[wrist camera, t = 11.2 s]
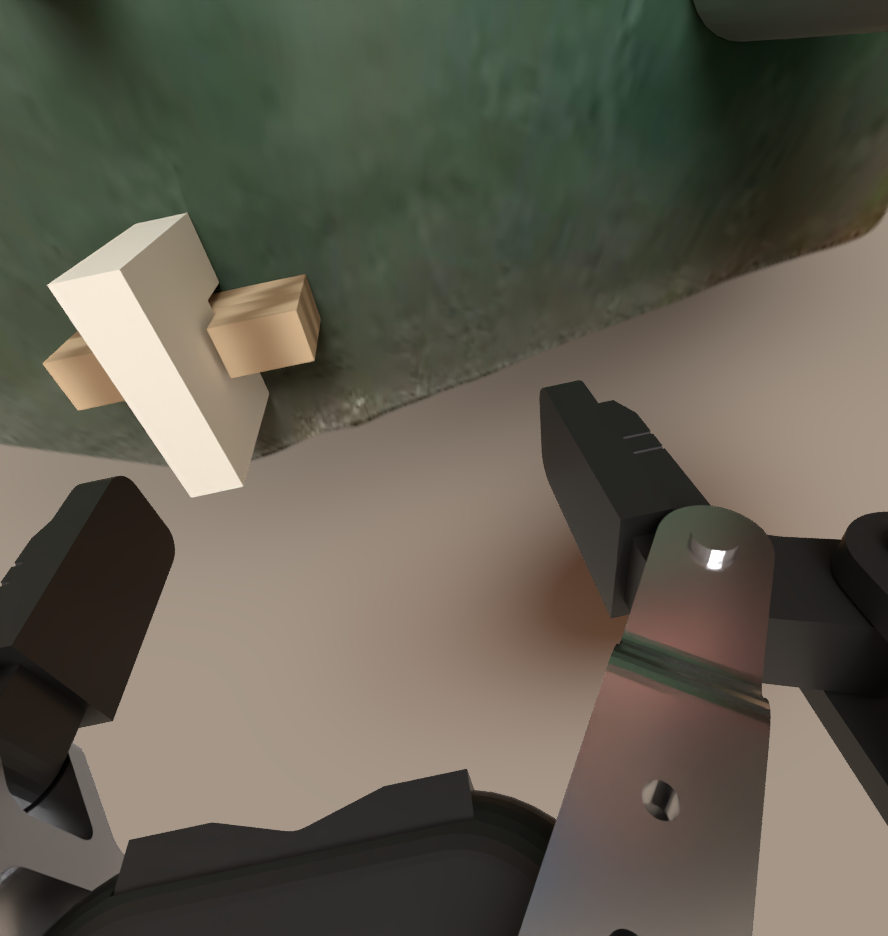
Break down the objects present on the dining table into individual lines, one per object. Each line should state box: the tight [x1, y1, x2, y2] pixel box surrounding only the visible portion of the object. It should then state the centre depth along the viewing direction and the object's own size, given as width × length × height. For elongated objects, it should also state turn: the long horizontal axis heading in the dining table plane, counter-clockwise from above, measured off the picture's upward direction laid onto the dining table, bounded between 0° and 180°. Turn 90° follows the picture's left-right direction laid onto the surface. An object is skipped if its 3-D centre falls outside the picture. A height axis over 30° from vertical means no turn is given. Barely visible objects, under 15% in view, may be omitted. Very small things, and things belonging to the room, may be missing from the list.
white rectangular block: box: [47, 213, 269, 497], centre depth 33 cm, size 14×4×12 cm, turn 10°
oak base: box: [42, 274, 321, 410], centre depth 34 cm, size 16×4×7 cm, turn 100°
